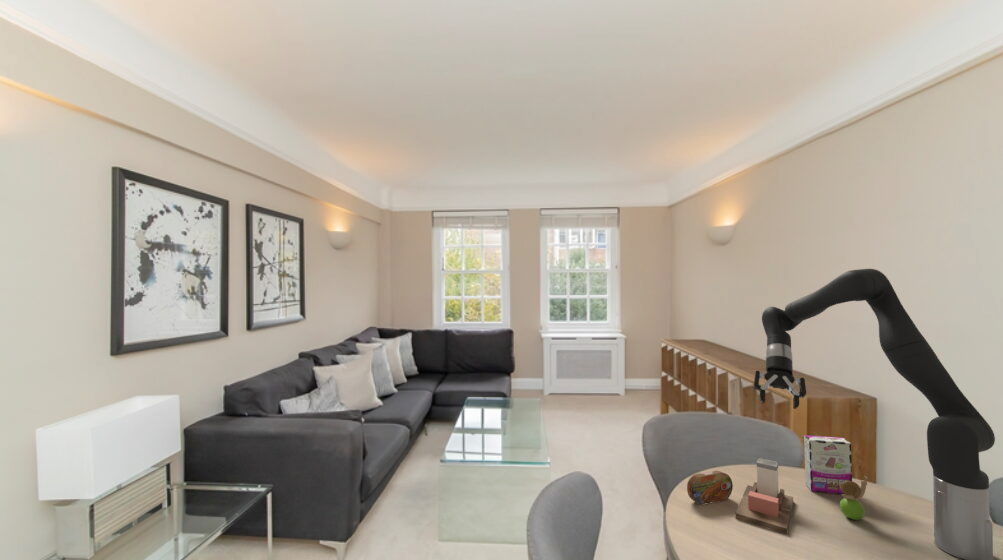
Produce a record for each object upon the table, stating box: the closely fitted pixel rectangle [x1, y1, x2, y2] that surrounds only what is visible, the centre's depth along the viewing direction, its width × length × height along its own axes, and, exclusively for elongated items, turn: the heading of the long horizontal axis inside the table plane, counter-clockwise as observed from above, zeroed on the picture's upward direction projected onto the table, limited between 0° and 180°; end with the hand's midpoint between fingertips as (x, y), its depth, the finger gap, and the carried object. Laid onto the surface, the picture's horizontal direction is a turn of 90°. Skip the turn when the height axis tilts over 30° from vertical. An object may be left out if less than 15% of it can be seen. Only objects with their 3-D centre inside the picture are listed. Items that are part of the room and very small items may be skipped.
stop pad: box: [748, 491, 779, 518], centre depth 118 cm, size 7×3×4 cm, turn 51°
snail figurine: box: [839, 475, 868, 521], centre depth 116 cm, size 5×6×12 cm
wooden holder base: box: [735, 481, 794, 535], centre depth 121 cm, size 12×20×4 cm, turn 141°
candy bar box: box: [803, 434, 853, 496], centre depth 131 cm, size 11×5×16 cm, turn 73°
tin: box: [686, 470, 734, 506], centre depth 126 cm, size 15×3×8 cm, turn 105°
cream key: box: [756, 457, 780, 498], centre depth 125 cm, size 5×4×10 cm
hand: (779, 405), depth 134 cm, fingers open, 8 cm apart
